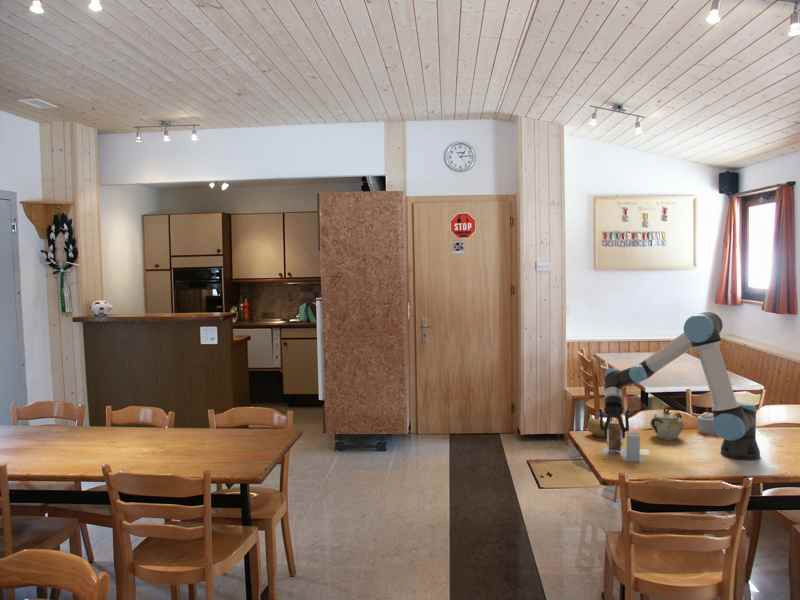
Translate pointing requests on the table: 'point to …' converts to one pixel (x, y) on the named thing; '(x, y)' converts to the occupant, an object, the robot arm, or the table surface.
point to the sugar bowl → (667, 424)
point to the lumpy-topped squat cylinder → (706, 423)
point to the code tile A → (614, 452)
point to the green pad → (644, 452)
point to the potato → (596, 427)
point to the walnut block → (614, 437)
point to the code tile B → (632, 461)
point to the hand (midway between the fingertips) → (614, 443)
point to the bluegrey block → (633, 447)
